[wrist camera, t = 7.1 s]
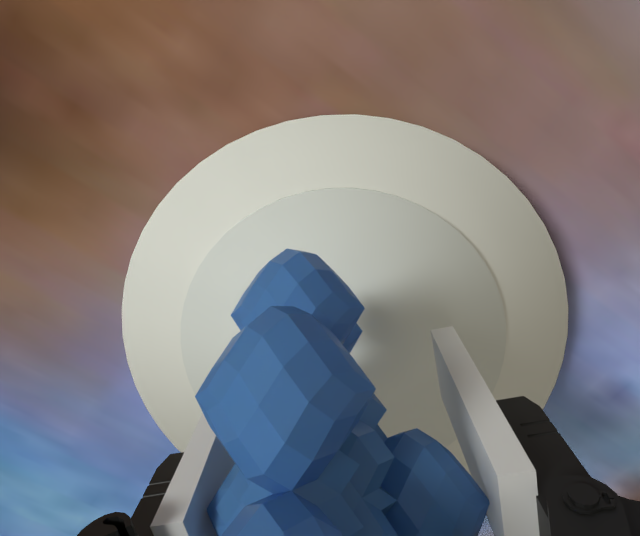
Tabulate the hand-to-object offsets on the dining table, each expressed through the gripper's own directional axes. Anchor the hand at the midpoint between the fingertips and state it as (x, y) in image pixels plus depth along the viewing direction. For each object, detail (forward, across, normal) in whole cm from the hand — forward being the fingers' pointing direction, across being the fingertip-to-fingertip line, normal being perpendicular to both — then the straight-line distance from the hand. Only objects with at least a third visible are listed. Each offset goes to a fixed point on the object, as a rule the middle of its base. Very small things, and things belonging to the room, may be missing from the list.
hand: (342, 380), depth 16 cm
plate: (+4, 0, 0) cm, 4 cm away
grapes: (+1, 0, 0) cm, 1 cm away
